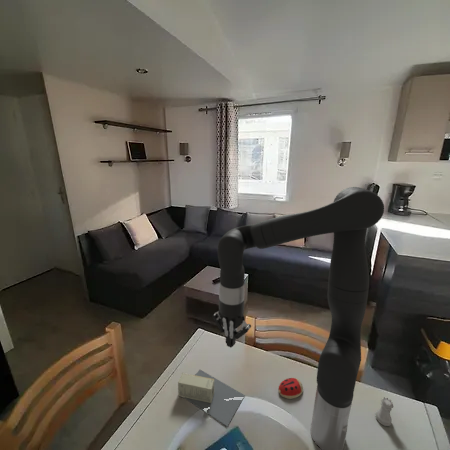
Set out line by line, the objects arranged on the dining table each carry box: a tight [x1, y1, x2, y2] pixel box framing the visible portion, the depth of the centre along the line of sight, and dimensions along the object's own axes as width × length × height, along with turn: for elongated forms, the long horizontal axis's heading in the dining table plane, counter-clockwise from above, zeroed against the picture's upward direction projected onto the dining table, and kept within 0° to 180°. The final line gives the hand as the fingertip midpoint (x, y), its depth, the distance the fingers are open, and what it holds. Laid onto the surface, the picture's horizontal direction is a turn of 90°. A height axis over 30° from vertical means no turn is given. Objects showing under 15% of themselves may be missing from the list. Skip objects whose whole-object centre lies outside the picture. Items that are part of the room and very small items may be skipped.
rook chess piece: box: [375, 396, 394, 427], centre depth 75 cm, size 4×4×8 cm
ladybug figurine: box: [278, 377, 304, 400], centre depth 85 cm, size 7×10×4 cm
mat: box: [183, 369, 246, 428], centre depth 83 cm, size 20×12×1 cm, turn 59°
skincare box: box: [177, 372, 214, 403], centre depth 82 cm, size 6×4×12 cm
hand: (230, 345), depth 73 cm, fingers closed
